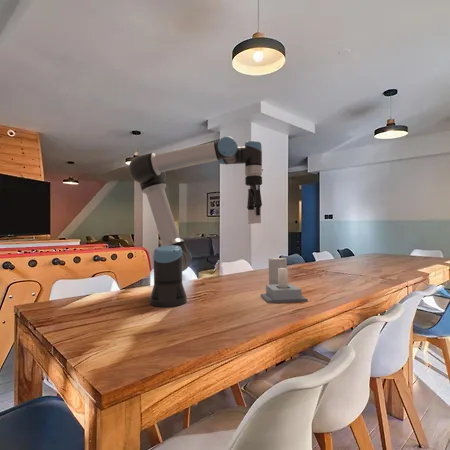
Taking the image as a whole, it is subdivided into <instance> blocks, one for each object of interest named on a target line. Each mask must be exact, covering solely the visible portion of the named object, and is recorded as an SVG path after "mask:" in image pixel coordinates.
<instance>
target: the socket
mask: <svg viewBox="0 0 450 450" xmlns="http://www.w3.org/2000/svg"><path fill="white" fill-rule="evenodd" d="M260 297H261V299H263V300H264V301H265V302H266V303H267V304H276V303H277V304H279V303H298V302H299V303H301V302H303V303H304V302H308V298H307V297H305V296H303V295H302V289H301V288H300V287H298V286H296V285H295V284H292V283H288V288H280V289H279V288H278V285H269V284H265V293H260Z"/></svg>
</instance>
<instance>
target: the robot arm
mask: <svg viewBox="0 0 450 450" xmlns="http://www.w3.org/2000/svg"><path fill="white" fill-rule="evenodd" d="M216 161H218V163H219V164H220V165H238V164H240V165H241V164H242V165H243V164H244V165H245V166H244V168H245V169H244V174H245V175H244V176H245V179H244V180H245V182H244V183H245V185H246V186H248V187H249V188H248V189H247V192H248V193H247V205H246V209H247V213H248V215H247V216H248V217H247V218H248V220H247V221H248V224H250V225H251V224H261V223H262V216H261V215H262V213H261V210H262V206H263V202H262V195H261V194H262V193H261V186H262V184H263V176H262V175H263V171H264V169H263V168H262V167H263V150H262V143H261V142H260V141H259V140H254V139H253V140H247V141H246V142H245V143H244V145H243V146H238V143H237V141H235V138H234V137H231V136H228V135H226V136H223V137H222V138H220V139H219V140H217V141H213V142H209V143H204V144H200V145H199V144H198V145H194V146H190V147H186V148H181V149H176V150H171V151H166V152H163V153H158V154H157V153H155V152H150V153H145V154H141V155H137V156H136V157H134V158H133V159H131V161H130V163H129V164H128V172H129V175H130V177H131V179H132V180H133V181H135V182H137V183H139V186H140V189H141V192H142V193H143V194H145V195H146V197H147V200H148V203H149V206H150V209H151V212H152V217H153V220H154V223H155V226H156V229H157V232H158V236H159V238H160V242H161V245H160V246H158V247H156V248H155V249H154V250H153V255H152V258H153V286H152V291H151V293H150V298H149V305H151V306H153V307H156V308H157V307H159V308H160V307H161V308H169V307H171V308H172V307H177V306H182V305H184V304H186V303H187V301H188V299H187V294H186V291H185V288H184V285H183V272H184V271H186V270H187V269H188V268H189V266H190V265H191V263H192V253H191V251H190V249H188V248H187V245H186V241H185V240H184V239H182V238H181V237H180V233H179V232H178V228H177V225H176V221H175V217H174V215H173V212H172V210H171V206H170V202H169V199H168V196H167V194H166V187H167V183H166V172H169V171H173V170H179V169H183V168H188V167H192V166H196V165H202V164H206V163H211V162H216Z"/></svg>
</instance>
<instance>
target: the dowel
mask: <svg viewBox="0 0 450 450" xmlns="http://www.w3.org/2000/svg"><path fill="white" fill-rule="evenodd" d="M288 276H289V275H288V267H287V268H278V288H279V289H280V288H288V284H289V282H288V279H289V278H288Z"/></svg>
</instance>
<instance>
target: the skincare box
mask: <svg viewBox="0 0 450 450" xmlns="http://www.w3.org/2000/svg"><path fill="white" fill-rule="evenodd" d="M287 261H288V259H287V258H286V257H274V258H273V257H272V258H268V285H278V268H287V269H288V265H287V264H288V263H287Z"/></svg>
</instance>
